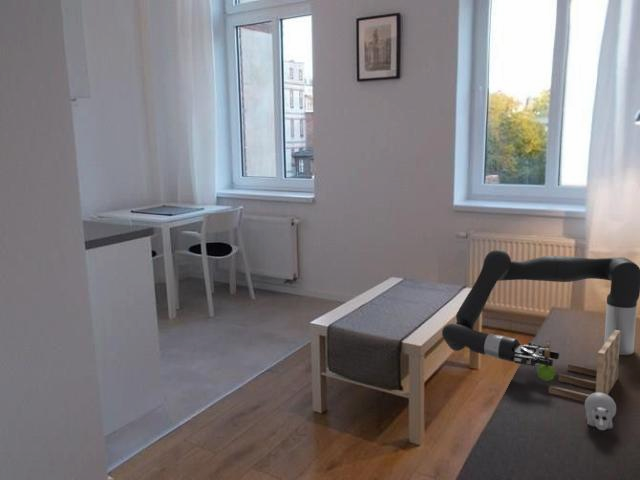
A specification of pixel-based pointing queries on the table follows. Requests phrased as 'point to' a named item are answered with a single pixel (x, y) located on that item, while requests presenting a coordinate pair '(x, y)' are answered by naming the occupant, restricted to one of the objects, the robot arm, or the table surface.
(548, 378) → the snail figurine
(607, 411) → the chubby cartoon animal
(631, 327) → the robot arm
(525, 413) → the table surface
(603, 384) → the lane rack
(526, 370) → the table surface
